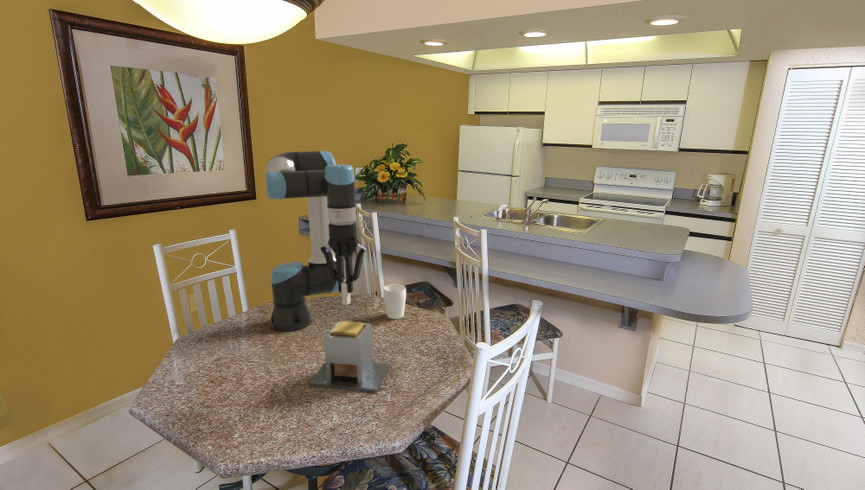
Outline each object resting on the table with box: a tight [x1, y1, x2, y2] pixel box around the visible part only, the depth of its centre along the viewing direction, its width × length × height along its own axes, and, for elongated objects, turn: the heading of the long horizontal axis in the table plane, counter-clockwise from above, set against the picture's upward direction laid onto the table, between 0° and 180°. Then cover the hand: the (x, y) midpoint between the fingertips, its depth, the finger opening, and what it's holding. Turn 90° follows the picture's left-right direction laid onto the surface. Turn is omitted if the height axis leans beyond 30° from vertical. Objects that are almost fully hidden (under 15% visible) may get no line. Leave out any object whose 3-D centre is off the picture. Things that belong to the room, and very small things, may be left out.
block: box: [332, 320, 365, 378], centre depth 126 cm, size 7×7×14 cm
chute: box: [308, 321, 390, 394], centre depth 126 cm, size 20×14×15 cm
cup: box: [382, 283, 407, 320], centre depth 170 cm, size 9×9×12 cm
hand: (346, 302), depth 123 cm, fingers closed
